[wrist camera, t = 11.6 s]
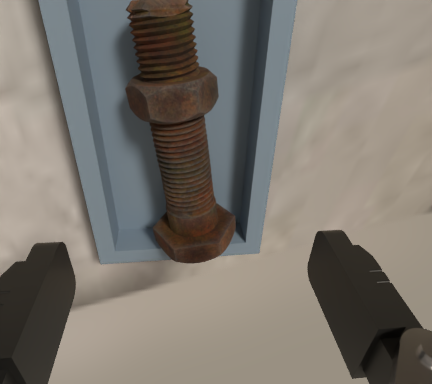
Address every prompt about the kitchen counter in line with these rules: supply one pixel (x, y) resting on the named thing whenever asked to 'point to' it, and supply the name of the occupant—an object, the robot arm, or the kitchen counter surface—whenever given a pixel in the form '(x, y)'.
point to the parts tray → (141, 131)
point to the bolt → (178, 128)
